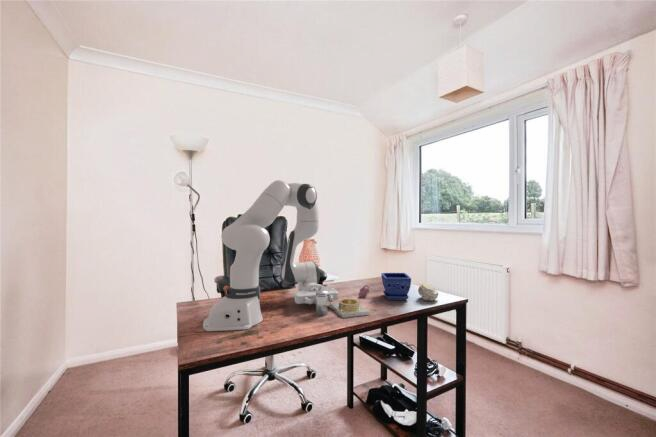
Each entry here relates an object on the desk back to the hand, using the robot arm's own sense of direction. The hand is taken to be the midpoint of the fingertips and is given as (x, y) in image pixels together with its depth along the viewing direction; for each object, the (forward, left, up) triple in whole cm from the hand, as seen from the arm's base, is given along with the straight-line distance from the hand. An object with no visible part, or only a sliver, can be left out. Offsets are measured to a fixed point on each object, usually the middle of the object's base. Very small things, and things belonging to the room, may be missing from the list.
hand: (321, 301), depth 123 cm
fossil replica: (+58, +2, -6) cm, 58 cm away
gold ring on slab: (+13, 0, -6) cm, 14 cm away
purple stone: (+31, +20, -6) cm, 37 cm away
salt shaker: (0, 0, -6) cm, 6 cm away
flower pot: (+44, +10, -6) cm, 46 cm away
